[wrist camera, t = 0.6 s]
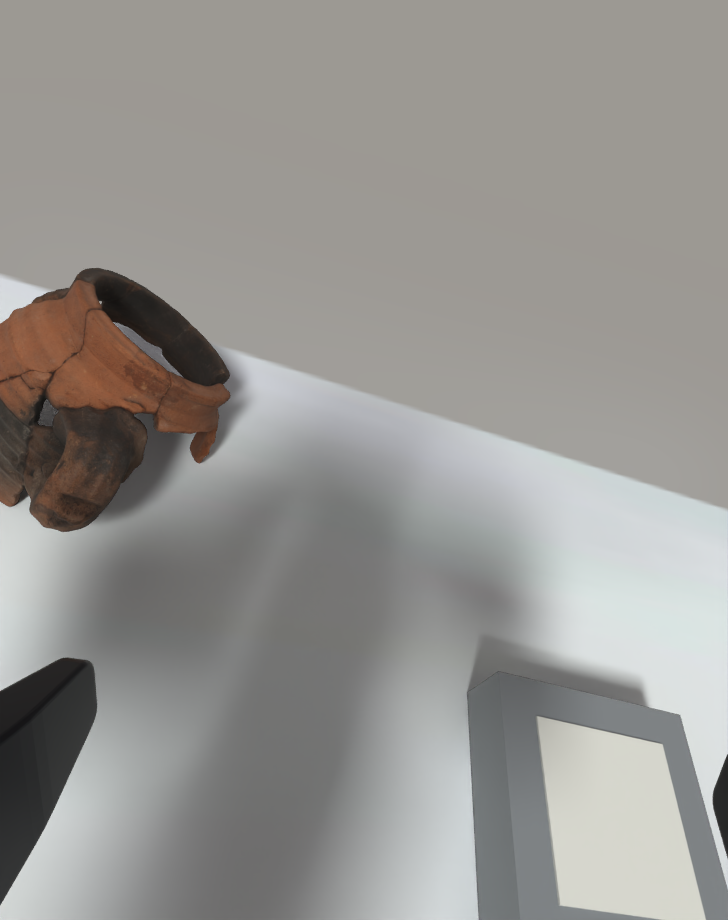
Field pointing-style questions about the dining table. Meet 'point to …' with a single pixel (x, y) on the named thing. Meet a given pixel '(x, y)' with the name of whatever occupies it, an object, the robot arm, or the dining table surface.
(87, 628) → the dining table surface
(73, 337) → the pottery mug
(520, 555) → the dining table surface
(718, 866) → the base tile
